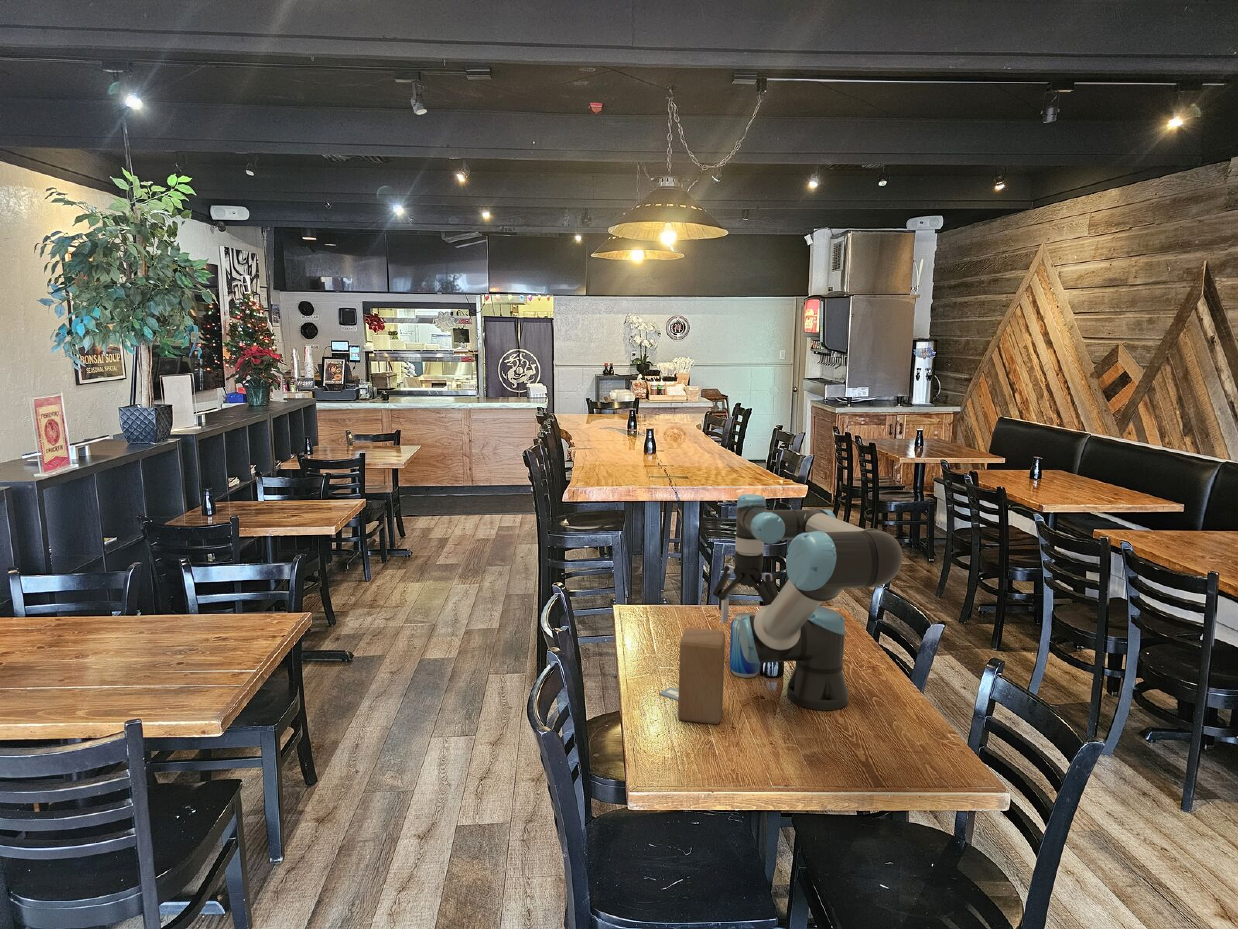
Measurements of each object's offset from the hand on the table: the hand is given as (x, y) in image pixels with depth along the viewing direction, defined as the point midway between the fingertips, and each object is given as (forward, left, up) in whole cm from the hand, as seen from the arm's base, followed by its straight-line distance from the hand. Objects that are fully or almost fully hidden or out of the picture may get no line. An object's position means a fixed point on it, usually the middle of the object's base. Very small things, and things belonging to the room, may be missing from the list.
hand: (746, 627), depth 211 cm
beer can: (0, 0, -13) cm, 13 cm away
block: (-4, +29, -13) cm, 32 cm away
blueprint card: (+6, +24, -13) cm, 28 cm away
